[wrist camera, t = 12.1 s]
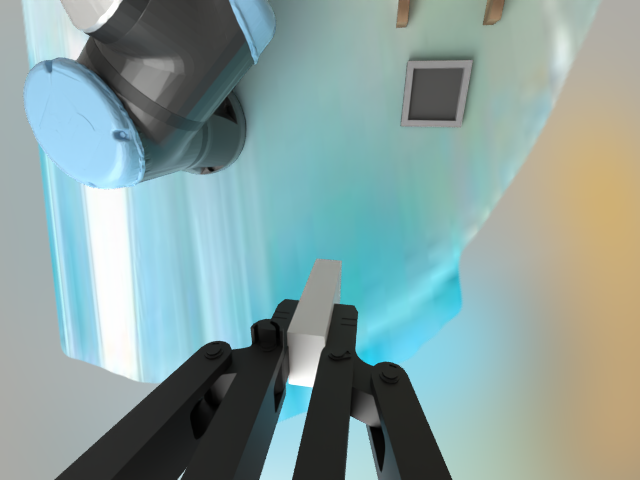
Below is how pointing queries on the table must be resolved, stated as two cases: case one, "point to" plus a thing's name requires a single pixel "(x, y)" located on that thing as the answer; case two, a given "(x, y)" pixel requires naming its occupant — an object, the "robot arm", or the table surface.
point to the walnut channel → (491, 16)
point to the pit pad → (435, 93)
